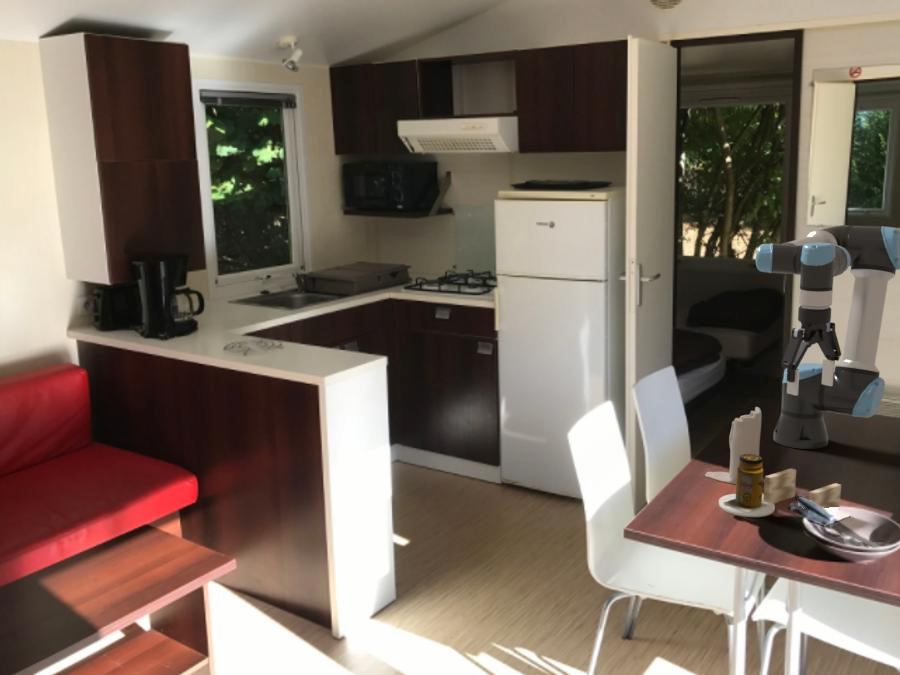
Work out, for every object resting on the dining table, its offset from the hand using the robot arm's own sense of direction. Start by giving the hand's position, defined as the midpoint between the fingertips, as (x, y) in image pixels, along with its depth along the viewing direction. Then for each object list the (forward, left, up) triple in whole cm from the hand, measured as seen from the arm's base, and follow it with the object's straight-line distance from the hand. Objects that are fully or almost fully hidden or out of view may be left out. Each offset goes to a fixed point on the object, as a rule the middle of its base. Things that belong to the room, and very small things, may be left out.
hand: (809, 389), depth 229 cm
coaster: (+22, 0, -26) cm, 34 cm away
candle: (+10, -15, -26) cm, 32 cm away
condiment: (+23, 0, -25) cm, 34 cm away
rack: (+12, +8, -26) cm, 30 cm away
